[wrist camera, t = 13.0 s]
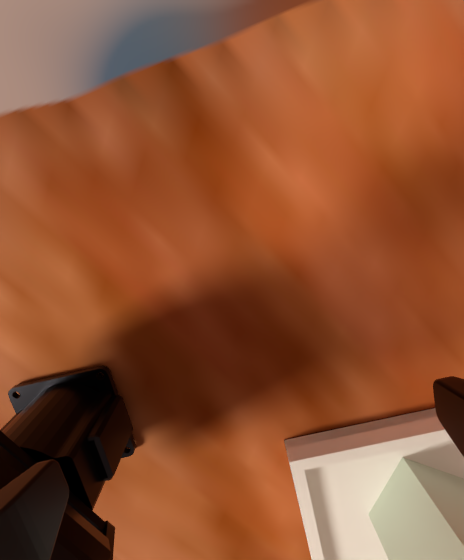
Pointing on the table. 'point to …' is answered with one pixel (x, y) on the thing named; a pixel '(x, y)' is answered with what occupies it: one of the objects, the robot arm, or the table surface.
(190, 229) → the table surface
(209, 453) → the table surface
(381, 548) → the tray
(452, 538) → the sage block
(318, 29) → the table surface
